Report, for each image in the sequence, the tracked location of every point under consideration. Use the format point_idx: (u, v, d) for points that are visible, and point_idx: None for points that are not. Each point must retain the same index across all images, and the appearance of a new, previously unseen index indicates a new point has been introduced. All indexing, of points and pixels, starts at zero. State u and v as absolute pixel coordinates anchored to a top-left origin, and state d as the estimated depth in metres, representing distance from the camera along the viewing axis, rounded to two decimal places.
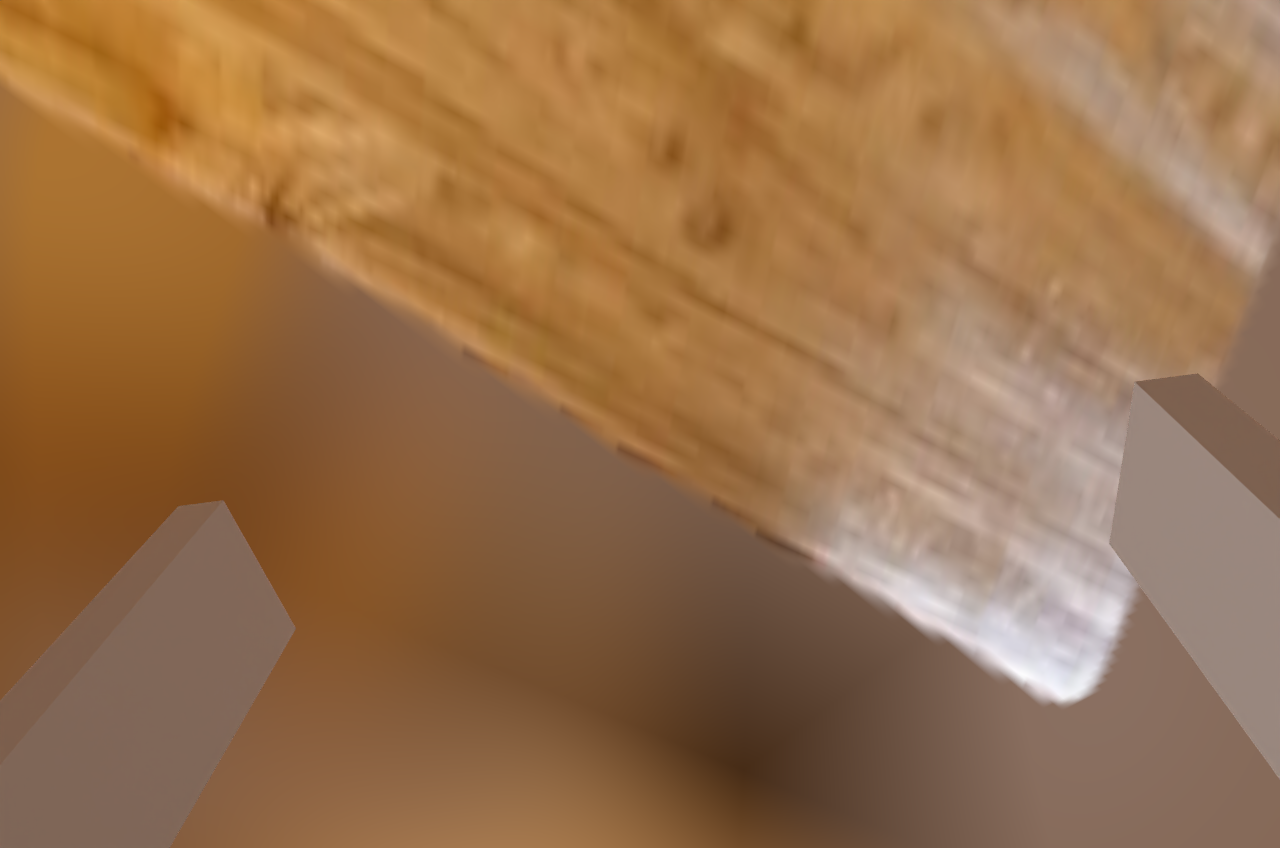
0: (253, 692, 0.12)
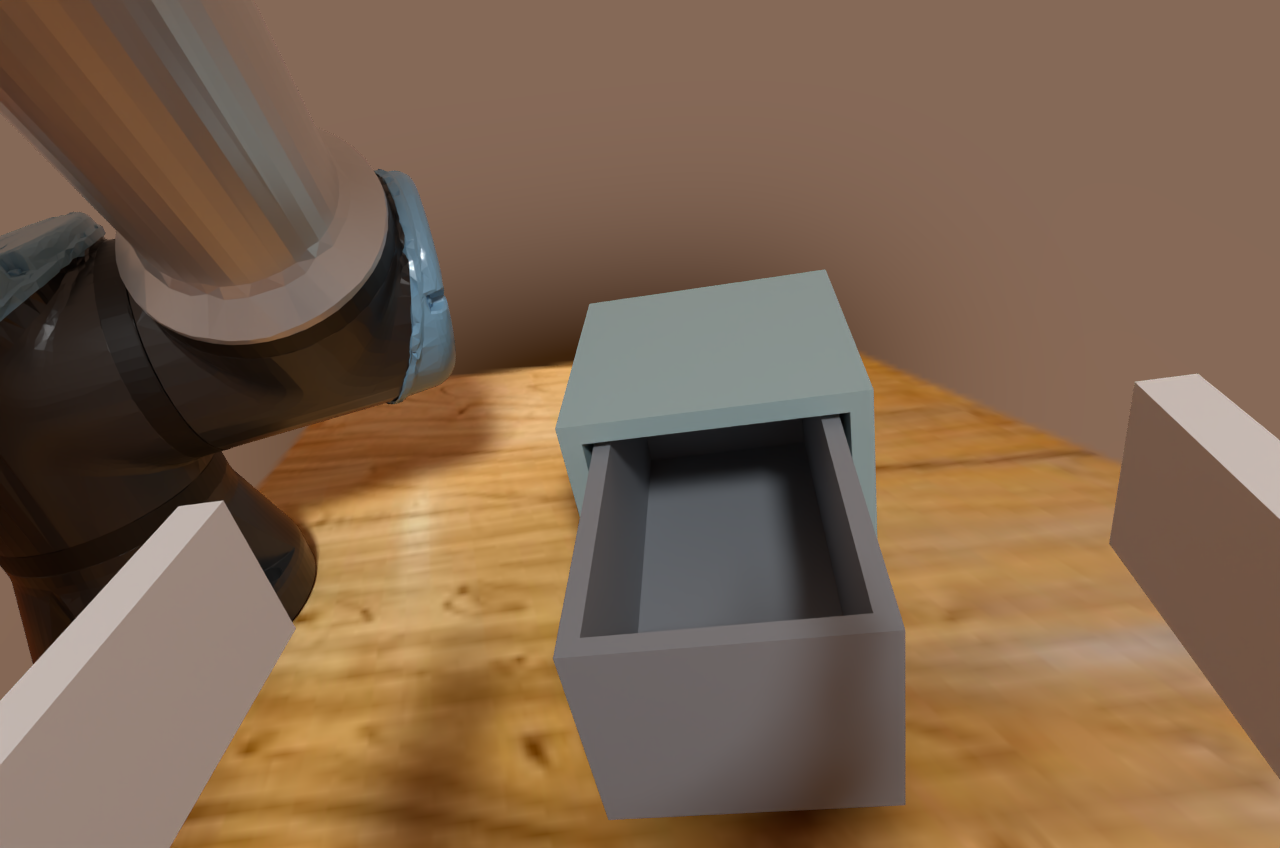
0: (253, 692, 0.12)
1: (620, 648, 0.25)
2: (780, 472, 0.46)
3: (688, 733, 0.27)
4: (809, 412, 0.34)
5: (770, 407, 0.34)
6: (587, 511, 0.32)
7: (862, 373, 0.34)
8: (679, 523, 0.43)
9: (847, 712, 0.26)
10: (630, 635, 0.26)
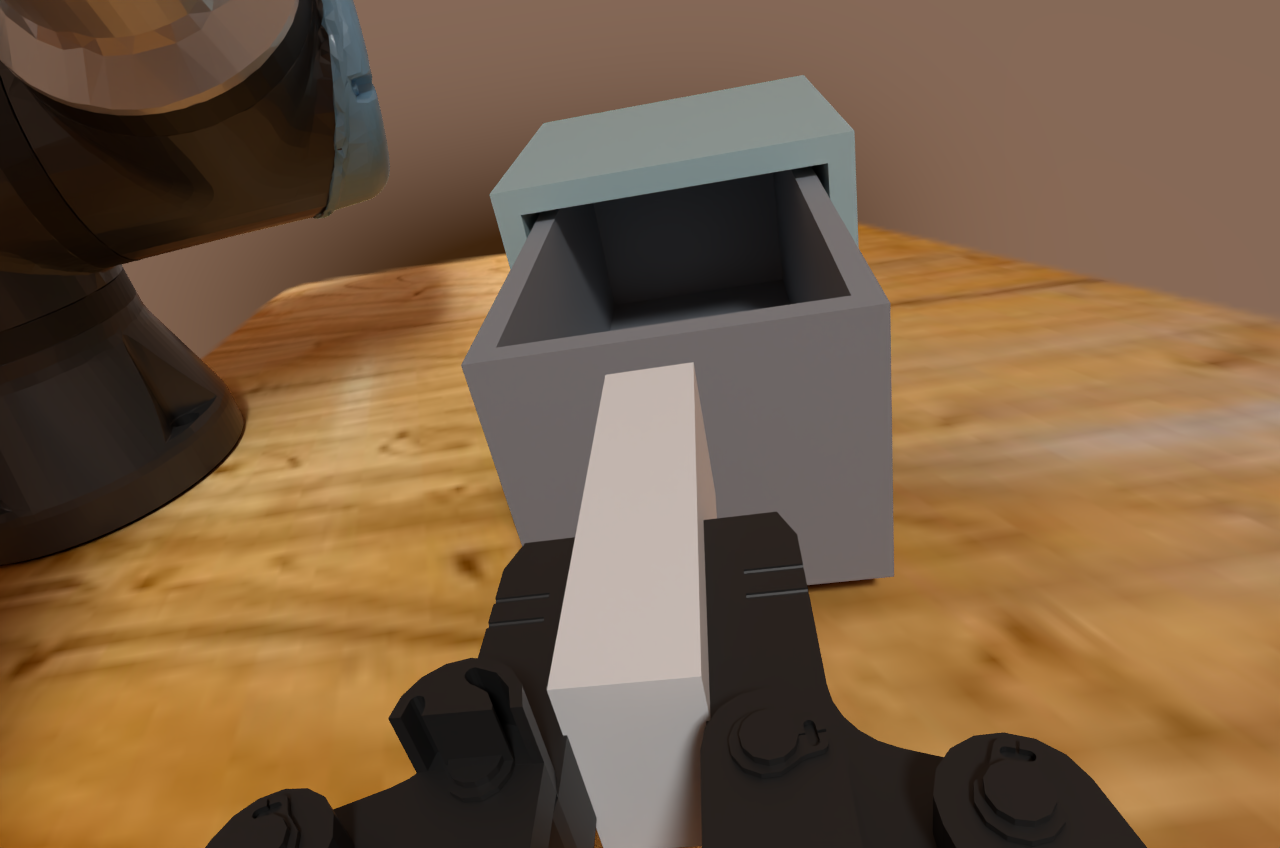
0: None
1: (543, 350, 0.21)
2: (756, 304, 0.41)
3: None
4: (781, 165, 0.29)
5: (736, 159, 0.29)
6: (521, 263, 0.27)
7: (841, 123, 0.30)
8: None
9: (822, 436, 0.21)
10: (556, 340, 0.21)
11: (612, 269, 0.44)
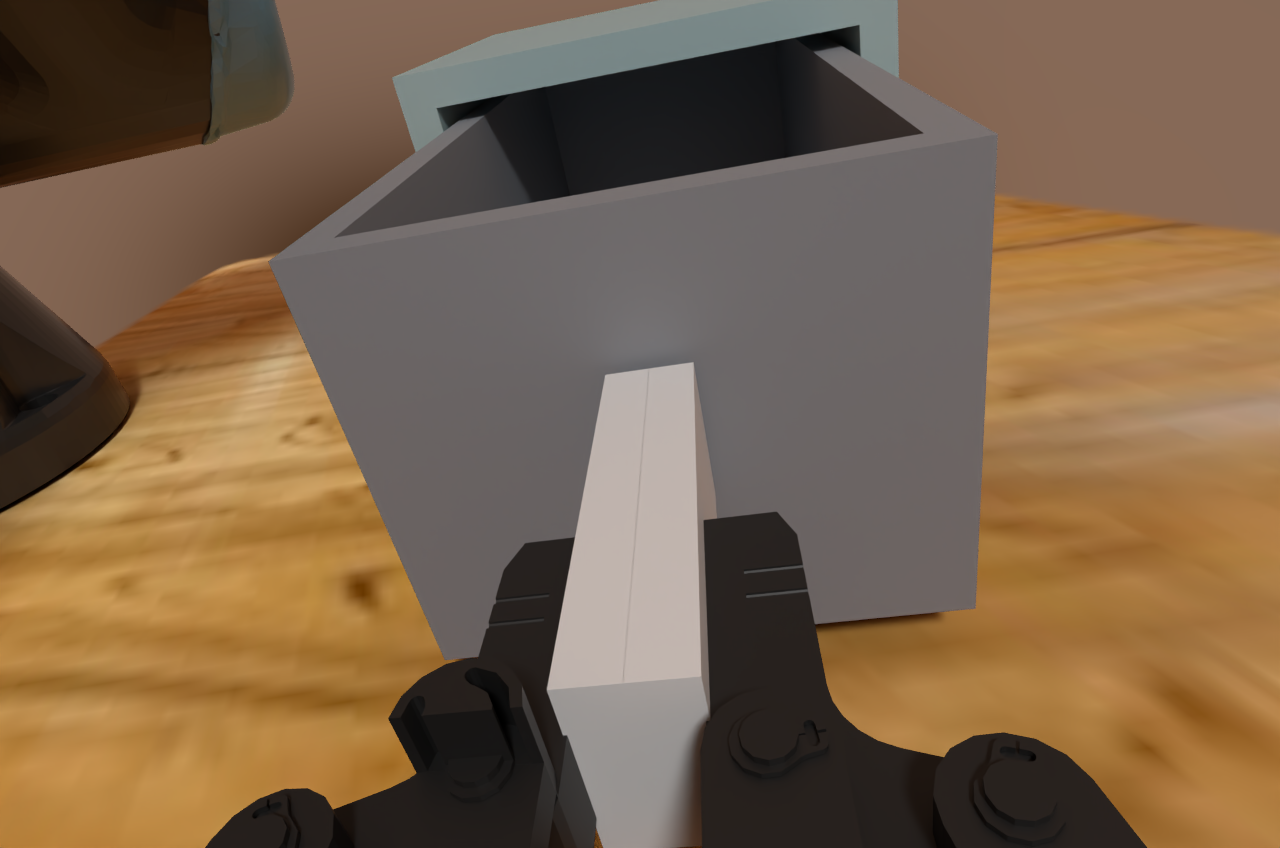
0: None
1: (404, 235, 0.12)
2: None
3: (563, 451, 0.14)
4: (793, 28, 0.21)
5: (731, 20, 0.21)
6: (421, 154, 0.19)
7: None
8: None
9: (870, 381, 0.13)
10: (430, 221, 0.13)
11: None
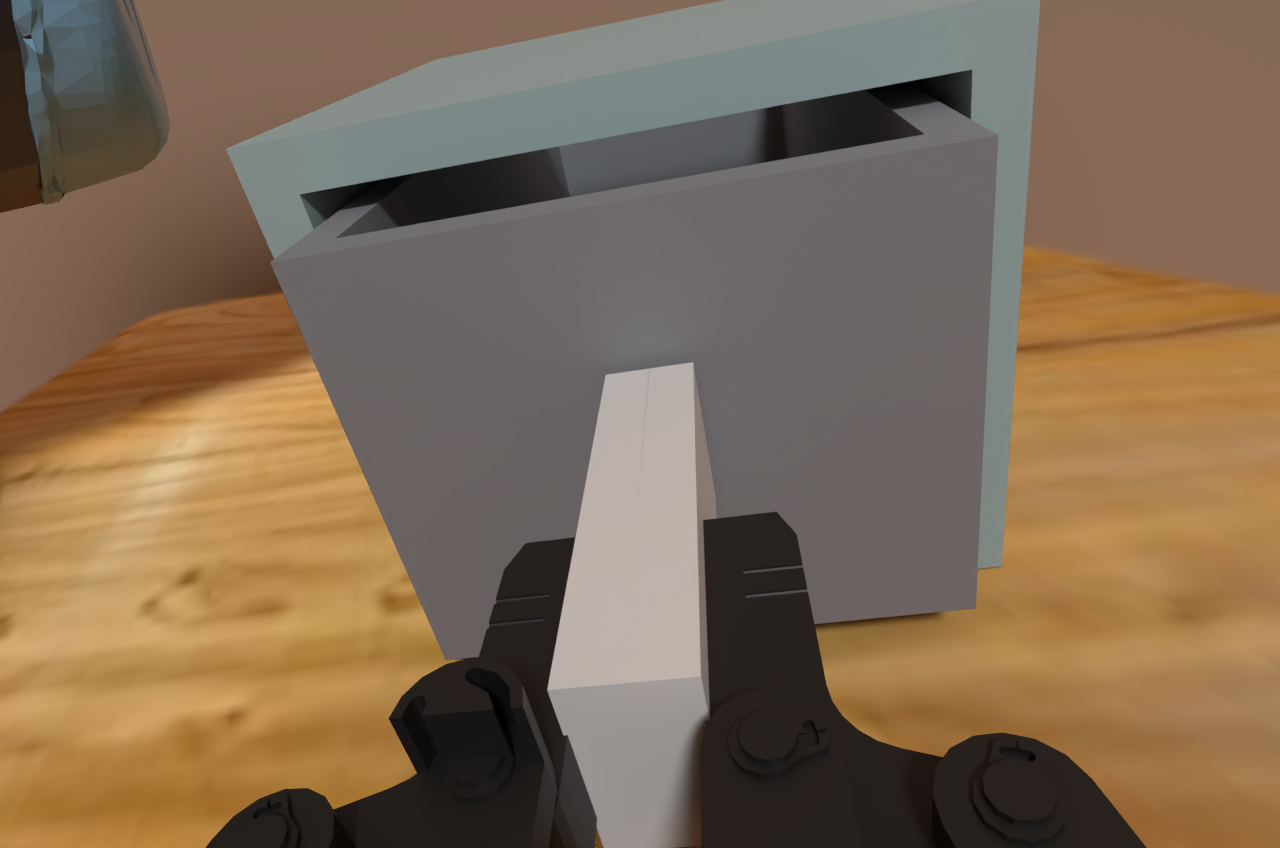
0: None
1: (405, 235, 0.12)
2: None
3: (564, 452, 0.14)
4: (864, 75, 0.13)
5: (763, 62, 0.13)
6: None
7: None
8: None
9: (870, 382, 0.13)
10: (432, 222, 0.13)
11: None
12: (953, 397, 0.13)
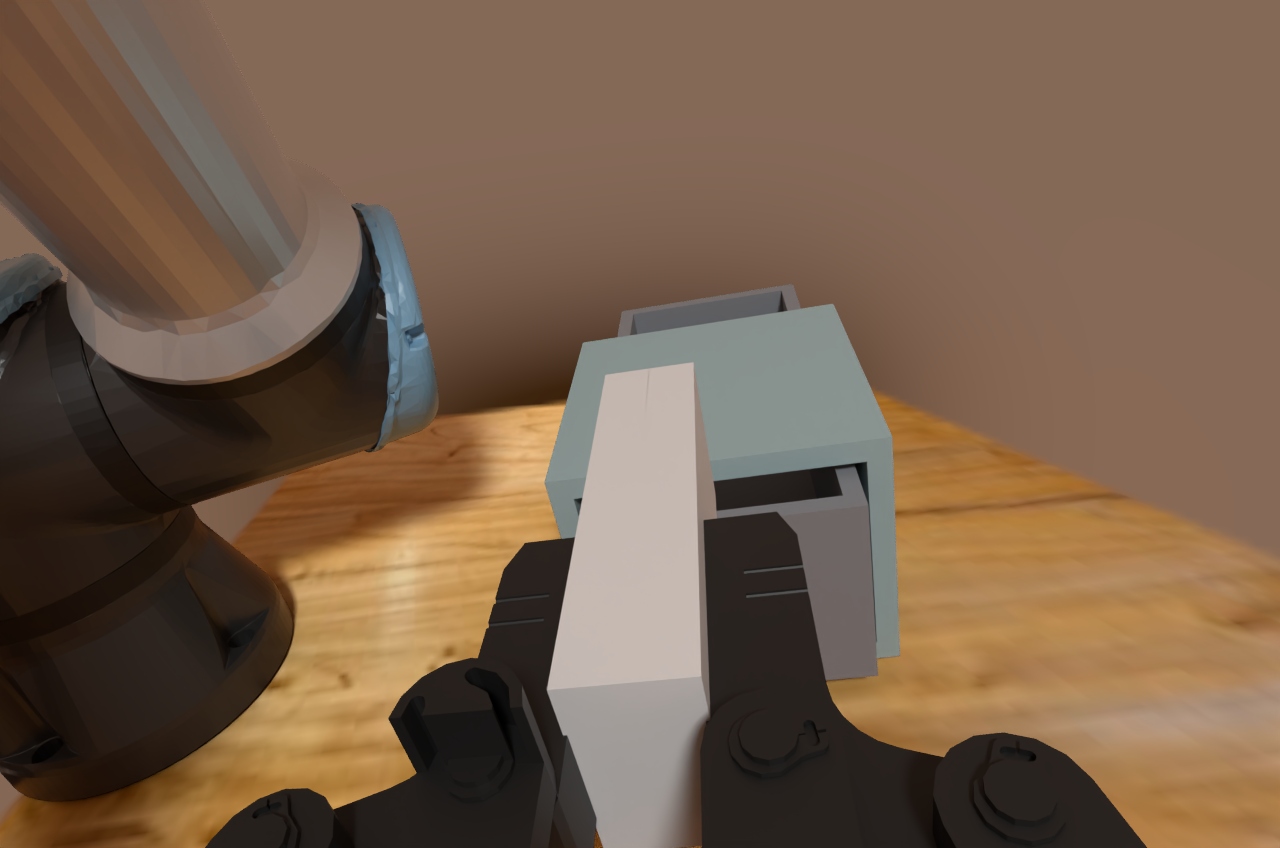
0: None
1: None
2: None
3: None
4: (822, 462, 0.31)
5: (779, 457, 0.31)
6: None
7: (878, 419, 0.31)
8: None
9: (825, 584, 0.31)
10: None
11: None
12: (859, 590, 0.31)
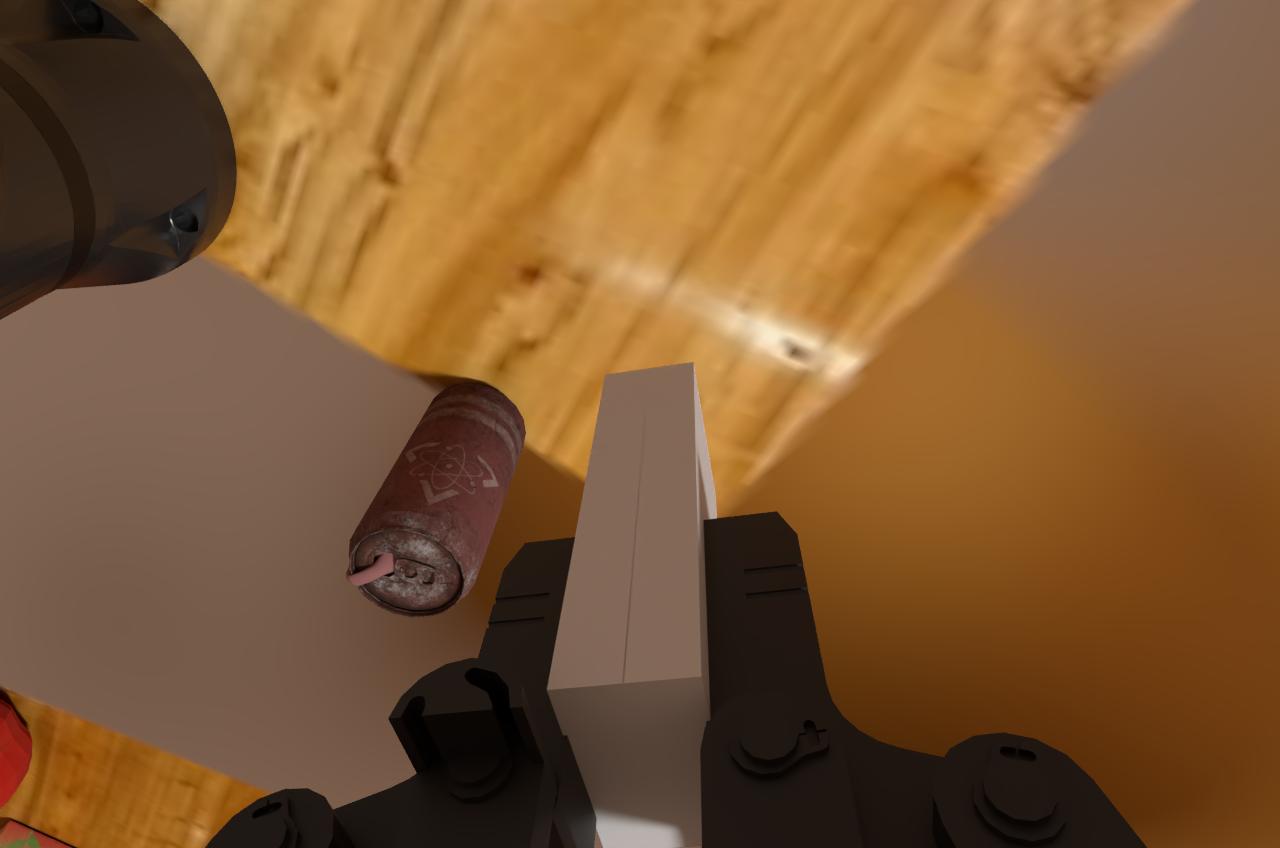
0: None
1: None
2: None
3: None
4: None
5: None
6: None
7: None
8: None
9: None
10: None
11: None
12: None
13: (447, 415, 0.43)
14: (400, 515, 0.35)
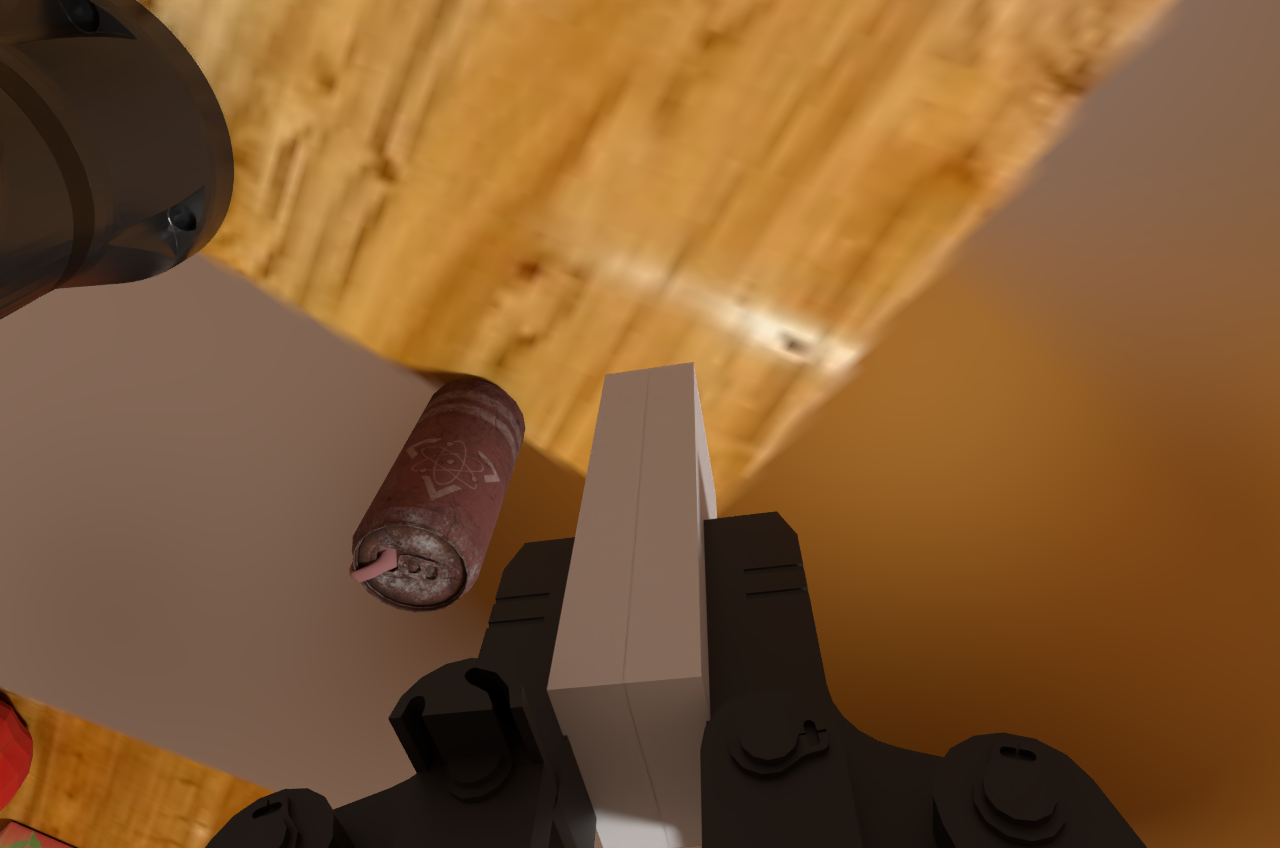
0: None
1: None
2: None
3: None
4: None
5: None
6: None
7: None
8: None
9: None
10: None
11: None
12: None
13: (447, 411, 0.43)
14: (402, 511, 0.35)
